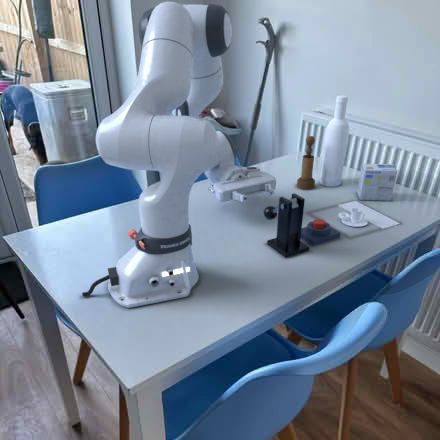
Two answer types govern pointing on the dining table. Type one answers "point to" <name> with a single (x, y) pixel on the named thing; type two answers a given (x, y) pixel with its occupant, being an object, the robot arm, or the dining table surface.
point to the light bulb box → (377, 181)
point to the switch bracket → (289, 228)
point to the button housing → (318, 234)
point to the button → (319, 223)
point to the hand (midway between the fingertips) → (258, 195)
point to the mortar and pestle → (307, 167)
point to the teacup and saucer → (355, 215)
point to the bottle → (335, 145)
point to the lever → (272, 212)
